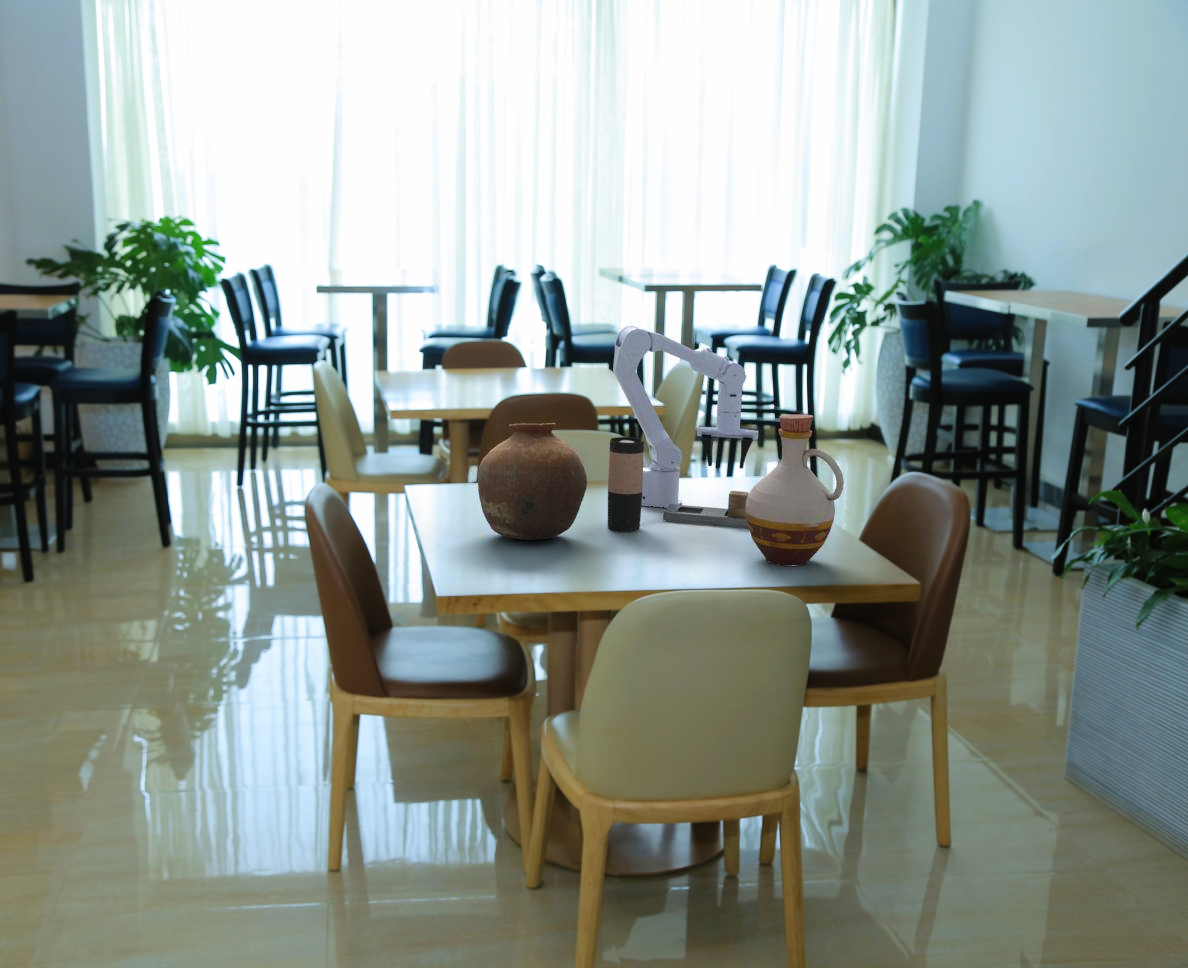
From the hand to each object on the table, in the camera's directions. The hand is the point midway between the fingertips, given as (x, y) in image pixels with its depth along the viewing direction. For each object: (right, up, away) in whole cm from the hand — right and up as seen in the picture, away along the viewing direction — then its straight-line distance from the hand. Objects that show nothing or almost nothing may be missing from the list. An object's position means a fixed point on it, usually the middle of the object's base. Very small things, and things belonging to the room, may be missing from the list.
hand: (725, 466), depth 290 cm
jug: (+8, -20, -48) cm, 53 cm away
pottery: (-46, -16, -36) cm, 60 cm away
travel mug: (-26, -14, -25) cm, 39 cm away
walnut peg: (+1, -13, -17) cm, 21 cm away
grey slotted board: (-5, -13, -15) cm, 20 cm away
